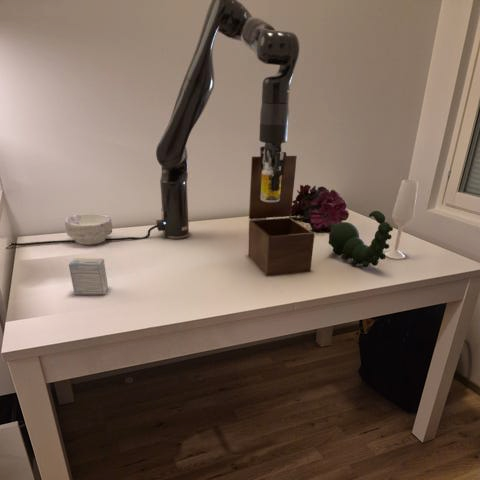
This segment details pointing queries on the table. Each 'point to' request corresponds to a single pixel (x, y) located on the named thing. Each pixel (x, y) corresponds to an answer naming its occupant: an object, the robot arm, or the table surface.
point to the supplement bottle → (268, 186)
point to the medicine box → (88, 276)
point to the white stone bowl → (88, 228)
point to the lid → (286, 193)
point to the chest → (280, 246)
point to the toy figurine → (360, 242)
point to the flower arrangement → (319, 208)
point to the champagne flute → (403, 212)
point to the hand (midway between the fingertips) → (270, 188)
